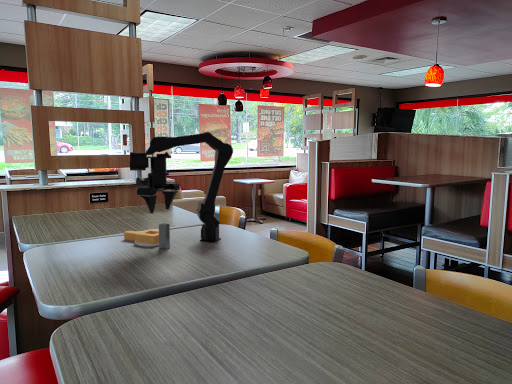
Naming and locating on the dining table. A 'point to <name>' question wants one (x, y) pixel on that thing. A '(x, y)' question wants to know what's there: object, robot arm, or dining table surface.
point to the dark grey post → (164, 236)
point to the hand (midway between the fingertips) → (159, 211)
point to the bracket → (143, 237)
